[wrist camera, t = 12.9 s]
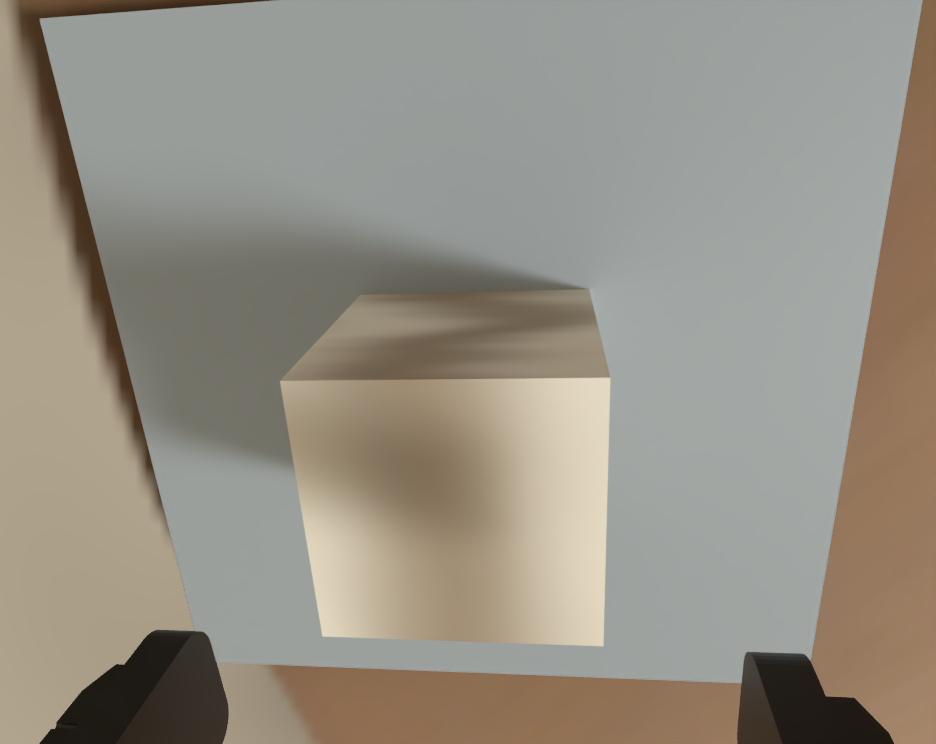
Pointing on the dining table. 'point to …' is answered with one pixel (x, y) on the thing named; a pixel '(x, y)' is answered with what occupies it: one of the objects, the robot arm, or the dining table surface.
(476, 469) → the maple block
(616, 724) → the dining table surface
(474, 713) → the dining table surface
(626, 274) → the slate board
